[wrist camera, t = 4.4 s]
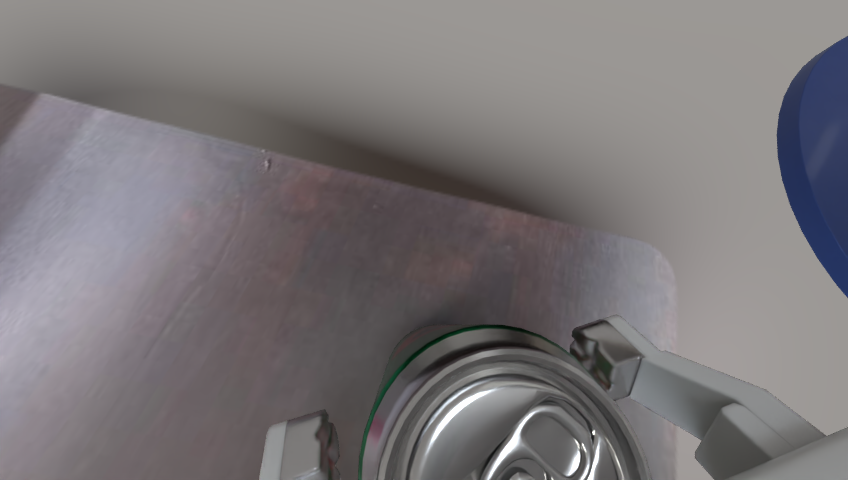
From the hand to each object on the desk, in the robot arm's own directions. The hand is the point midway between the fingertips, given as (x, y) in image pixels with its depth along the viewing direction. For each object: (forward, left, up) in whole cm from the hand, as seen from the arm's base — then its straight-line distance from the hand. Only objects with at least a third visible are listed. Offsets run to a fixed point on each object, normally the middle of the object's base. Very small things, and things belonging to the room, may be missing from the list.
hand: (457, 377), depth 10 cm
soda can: (0, +1, -7) cm, 7 cm away
